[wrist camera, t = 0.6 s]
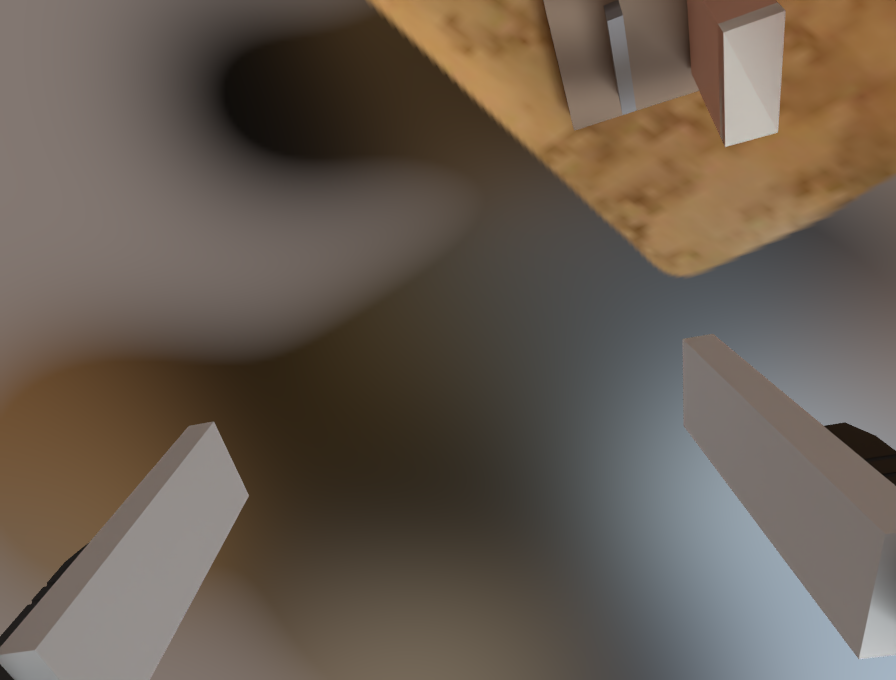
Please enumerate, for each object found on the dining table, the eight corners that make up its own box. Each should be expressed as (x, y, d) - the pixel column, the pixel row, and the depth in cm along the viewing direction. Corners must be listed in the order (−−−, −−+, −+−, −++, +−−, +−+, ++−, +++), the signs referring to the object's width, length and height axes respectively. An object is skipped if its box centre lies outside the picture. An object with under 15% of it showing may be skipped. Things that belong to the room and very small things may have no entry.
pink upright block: (685, -26, 30) (723, 32, 23) (732, -45, 29) (785, 10, 22) (691, 73, 34) (725, 146, 27) (732, 59, 33) (777, 132, 26)
